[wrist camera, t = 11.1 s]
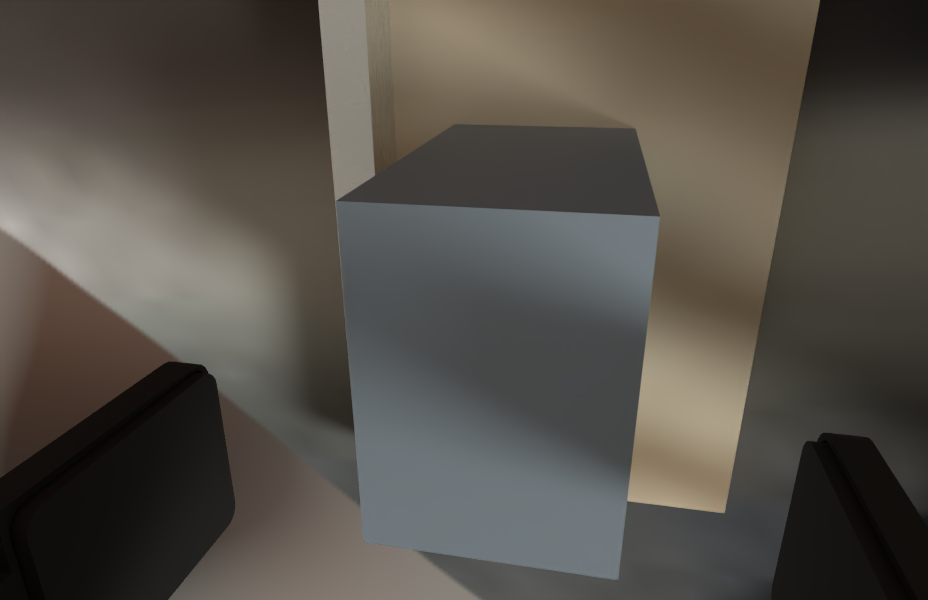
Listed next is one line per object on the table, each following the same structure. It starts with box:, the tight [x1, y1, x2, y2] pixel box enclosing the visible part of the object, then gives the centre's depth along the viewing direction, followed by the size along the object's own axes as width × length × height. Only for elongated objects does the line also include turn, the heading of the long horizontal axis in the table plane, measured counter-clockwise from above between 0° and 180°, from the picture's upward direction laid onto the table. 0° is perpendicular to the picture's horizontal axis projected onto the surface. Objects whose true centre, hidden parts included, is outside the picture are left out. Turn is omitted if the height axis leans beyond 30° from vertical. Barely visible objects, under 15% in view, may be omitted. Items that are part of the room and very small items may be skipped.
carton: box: [336, 124, 660, 580], centre depth 15 cm, size 5×7×9 cm
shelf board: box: [318, 0, 820, 513], centre depth 19 cm, size 16×12×4 cm
